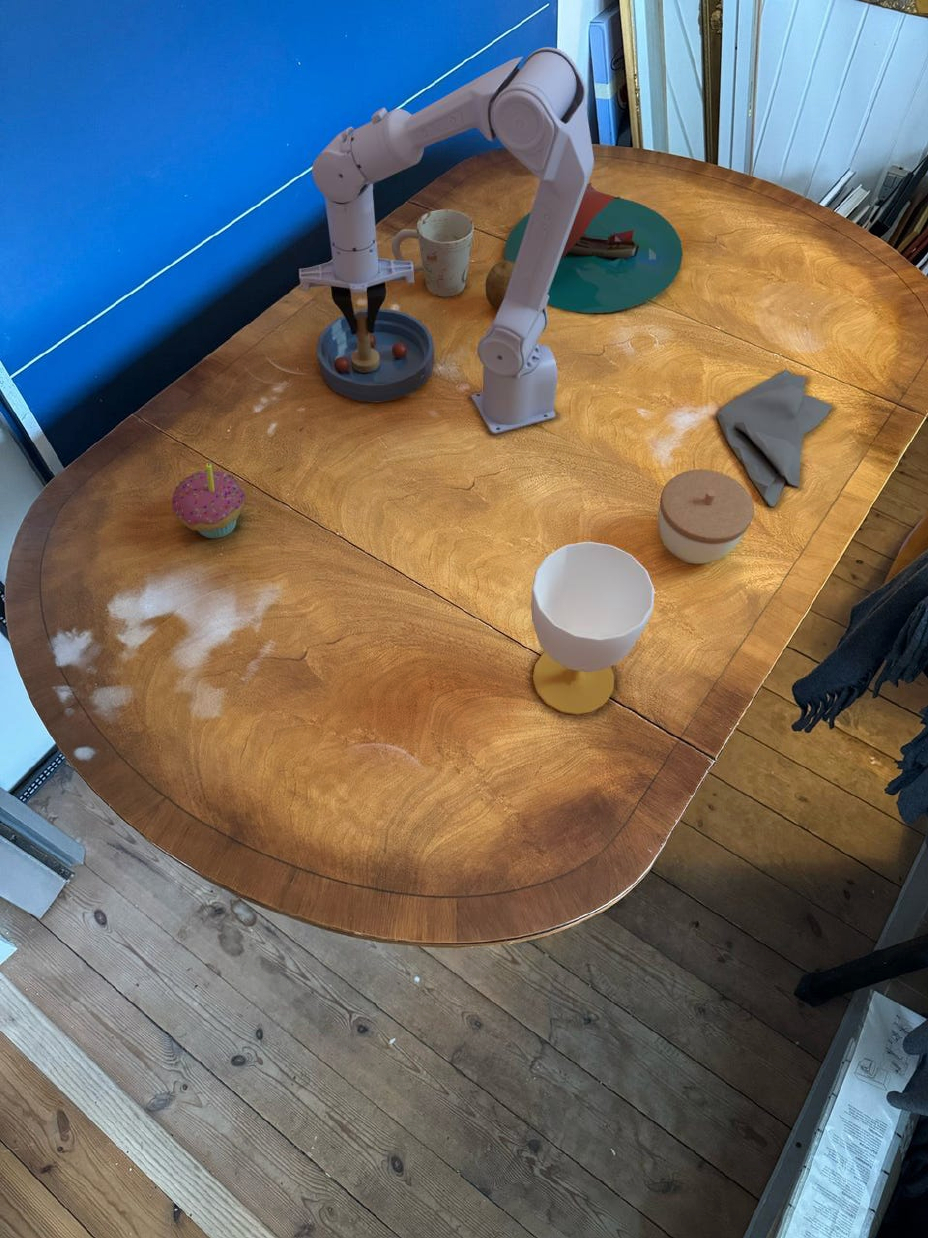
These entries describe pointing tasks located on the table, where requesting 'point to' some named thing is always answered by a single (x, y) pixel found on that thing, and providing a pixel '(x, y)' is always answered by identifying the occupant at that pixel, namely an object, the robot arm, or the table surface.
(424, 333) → the bowl
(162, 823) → the table surface
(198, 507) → the cupcake
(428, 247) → the mug
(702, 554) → the trinket box
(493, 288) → the fruit
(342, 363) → the bead
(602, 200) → the toy sailboat
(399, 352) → the bead
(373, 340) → the bead
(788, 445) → the cloth
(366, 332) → the pestle
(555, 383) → the robot arm
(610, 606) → the cup
